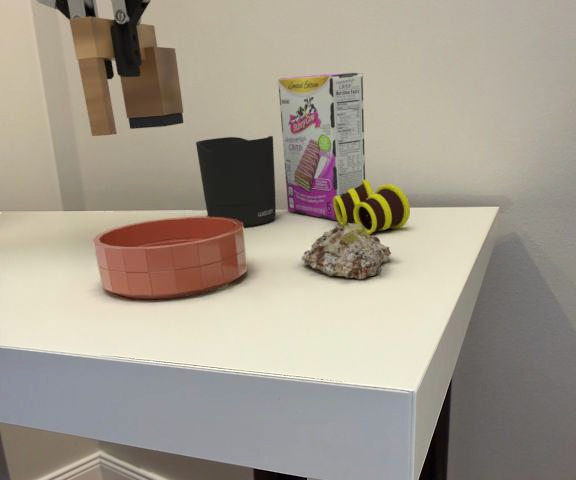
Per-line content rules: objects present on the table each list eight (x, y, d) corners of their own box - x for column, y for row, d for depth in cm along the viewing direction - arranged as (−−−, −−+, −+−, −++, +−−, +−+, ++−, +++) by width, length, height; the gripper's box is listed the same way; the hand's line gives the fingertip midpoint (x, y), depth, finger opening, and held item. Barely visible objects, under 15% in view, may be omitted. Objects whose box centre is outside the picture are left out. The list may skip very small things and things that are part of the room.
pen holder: (211, 232, 79) (200, 145, 75) (202, 219, 88) (192, 140, 83) (286, 223, 81) (280, 137, 77) (270, 211, 89) (264, 133, 85)
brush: (121, 134, 56) (101, 15, 53) (80, 137, 57) (58, 20, 54) (185, 122, 69) (172, 25, 65) (150, 125, 70) (135, 29, 66)
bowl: (73, 301, 56) (62, 249, 54) (144, 262, 68) (137, 217, 66) (216, 303, 52) (209, 247, 51) (266, 261, 64) (262, 215, 62)
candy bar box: (285, 212, 88) (275, 78, 81) (315, 206, 90) (308, 75, 84) (336, 222, 79) (330, 72, 73) (368, 215, 82) (365, 70, 75)
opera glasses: (334, 230, 79) (324, 189, 77) (371, 215, 80) (363, 175, 78) (372, 244, 71) (363, 199, 68) (414, 228, 72) (406, 183, 70)
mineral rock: (290, 233, 64) (368, 203, 63) (305, 274, 66) (380, 245, 65) (305, 263, 54) (396, 228, 54) (321, 309, 56) (410, 276, 56)
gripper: (-45, -178, 50) (14, 86, 58) (143, -220, 46) (181, 70, 54) (15, -149, 57) (62, 84, 64) (185, -184, 53) (213, 70, 60)
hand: (116, 76), depth 59 cm, fingers closed on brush, 2 cm apart
